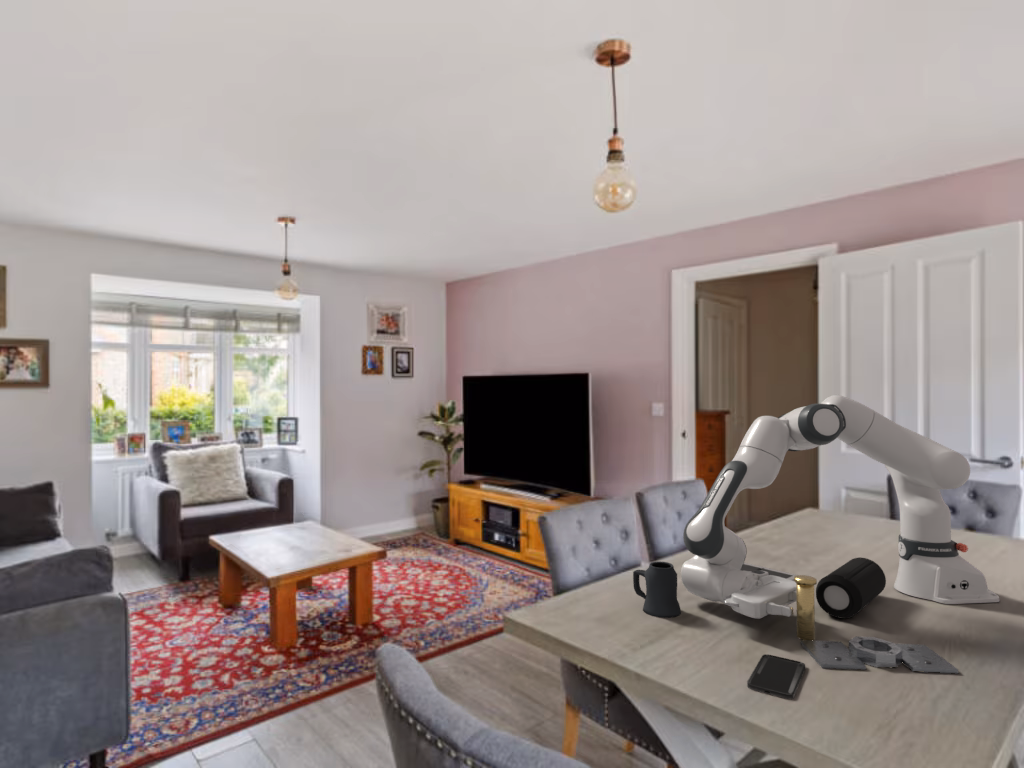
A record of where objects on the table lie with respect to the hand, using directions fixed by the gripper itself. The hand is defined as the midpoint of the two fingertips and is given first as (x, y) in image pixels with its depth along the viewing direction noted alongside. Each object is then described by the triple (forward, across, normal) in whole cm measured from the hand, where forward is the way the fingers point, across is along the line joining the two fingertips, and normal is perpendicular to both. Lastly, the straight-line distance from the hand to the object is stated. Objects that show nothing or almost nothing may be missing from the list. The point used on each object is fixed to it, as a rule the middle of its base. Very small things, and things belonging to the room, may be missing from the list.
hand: (802, 607), depth 131 cm
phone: (+6, -22, +7) cm, 24 cm away
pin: (+1, 0, +6) cm, 6 cm away
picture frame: (-28, +29, +7) cm, 41 cm away
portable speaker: (-1, +28, +7) cm, 28 cm away
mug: (-30, -12, +6) cm, 33 cm away
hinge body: (+14, +1, +6) cm, 15 cm away
